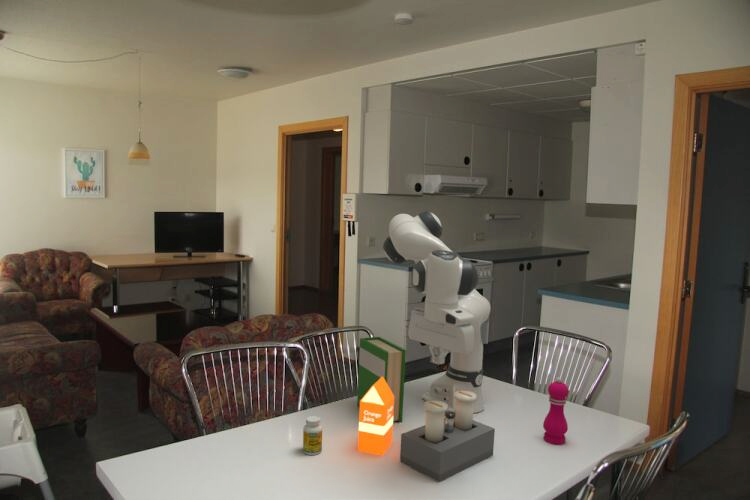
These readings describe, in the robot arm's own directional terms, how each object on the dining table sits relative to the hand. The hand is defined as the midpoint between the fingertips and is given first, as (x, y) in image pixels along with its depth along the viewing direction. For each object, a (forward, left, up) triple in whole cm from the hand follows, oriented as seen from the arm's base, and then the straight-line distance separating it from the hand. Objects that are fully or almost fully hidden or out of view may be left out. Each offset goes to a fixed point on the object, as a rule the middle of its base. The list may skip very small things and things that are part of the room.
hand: (438, 362), depth 152 cm
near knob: (0, 0, -22) cm, 22 cm away
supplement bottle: (-27, -21, -29) cm, 45 cm away
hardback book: (-35, +13, -29) cm, 47 cm away
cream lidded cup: (0, +13, -22) cm, 25 cm away
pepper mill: (+13, +42, -29) cm, 53 cm away
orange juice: (-18, -5, -29) cm, 35 cm away
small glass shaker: (0, +6, -21) cm, 22 cm away
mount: (0, +6, -29) cm, 30 cm away
